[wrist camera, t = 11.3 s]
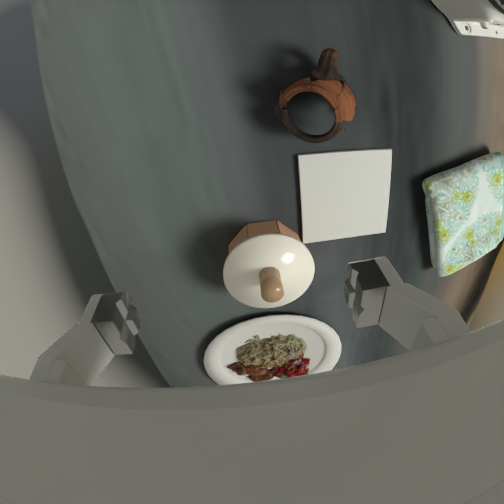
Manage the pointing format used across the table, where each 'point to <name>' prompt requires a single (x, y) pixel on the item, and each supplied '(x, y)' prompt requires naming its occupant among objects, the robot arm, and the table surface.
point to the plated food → (272, 349)
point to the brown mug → (330, 89)
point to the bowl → (261, 231)
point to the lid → (268, 270)
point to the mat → (344, 193)
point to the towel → (465, 212)
